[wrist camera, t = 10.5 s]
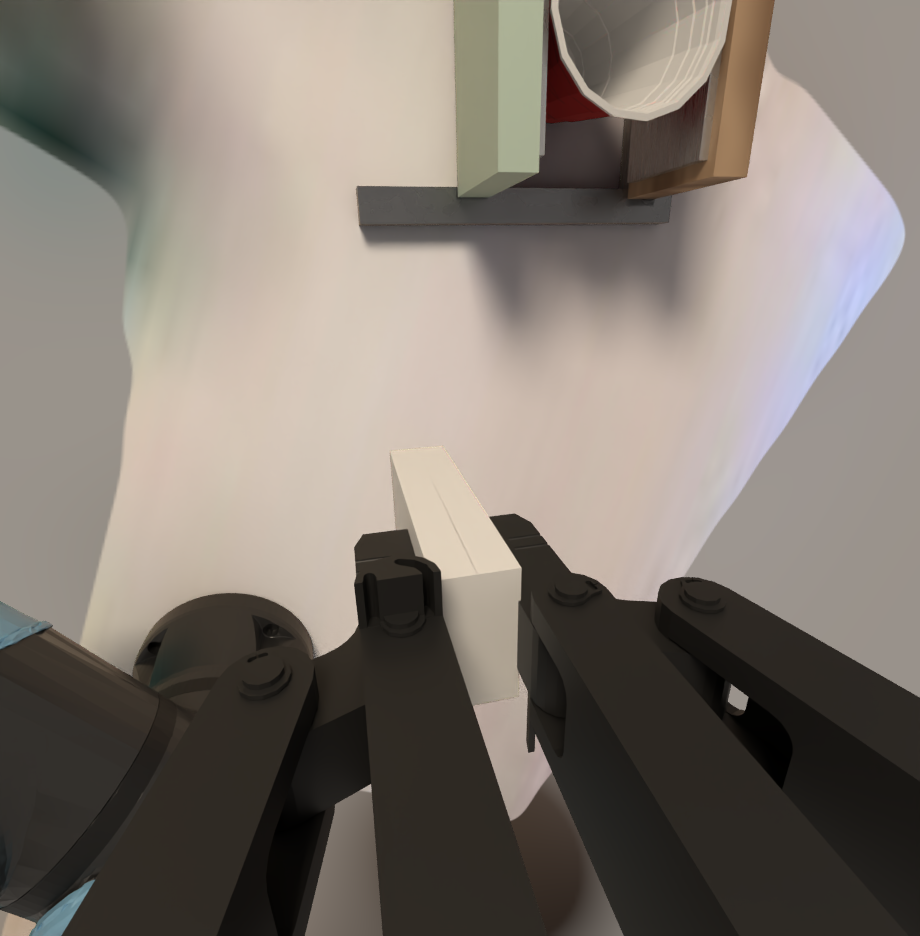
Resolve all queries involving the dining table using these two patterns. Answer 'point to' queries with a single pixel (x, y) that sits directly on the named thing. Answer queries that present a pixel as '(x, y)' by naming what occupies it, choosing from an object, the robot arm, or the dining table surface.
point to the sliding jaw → (499, 92)
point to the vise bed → (623, 154)
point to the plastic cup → (629, 56)
